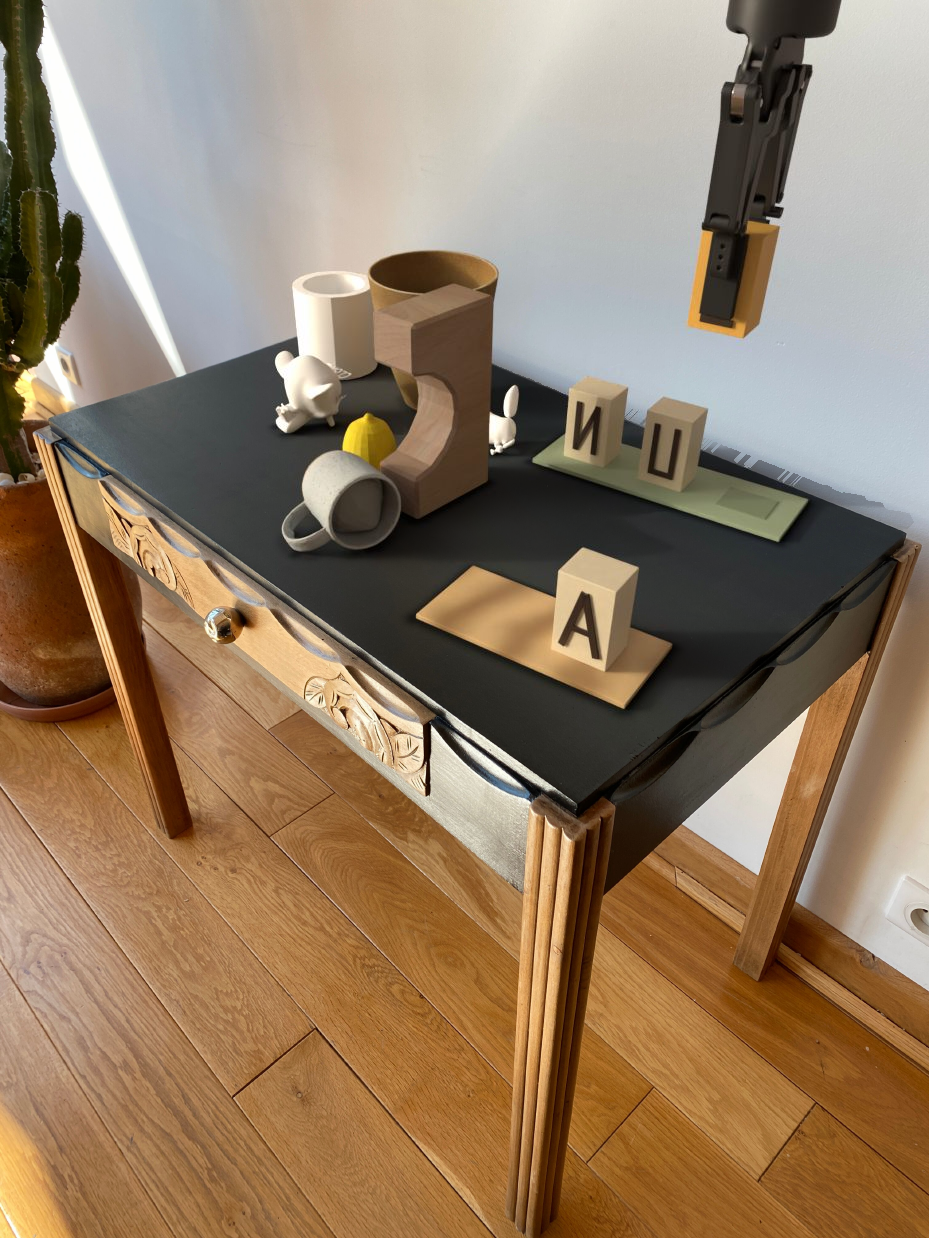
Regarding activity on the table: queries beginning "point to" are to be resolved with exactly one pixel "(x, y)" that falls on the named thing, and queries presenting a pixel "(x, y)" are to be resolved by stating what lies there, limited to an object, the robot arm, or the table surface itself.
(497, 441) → the rabbit figurine
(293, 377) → the figurine
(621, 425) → the wooden letter block
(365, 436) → the fruit
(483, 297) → the decorative block
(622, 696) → the front word board
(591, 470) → the board
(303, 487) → the ceramic mug
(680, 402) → the U tile
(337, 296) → the mug
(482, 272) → the plant pot
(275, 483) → the table surface
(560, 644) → the tile
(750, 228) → the orange block
